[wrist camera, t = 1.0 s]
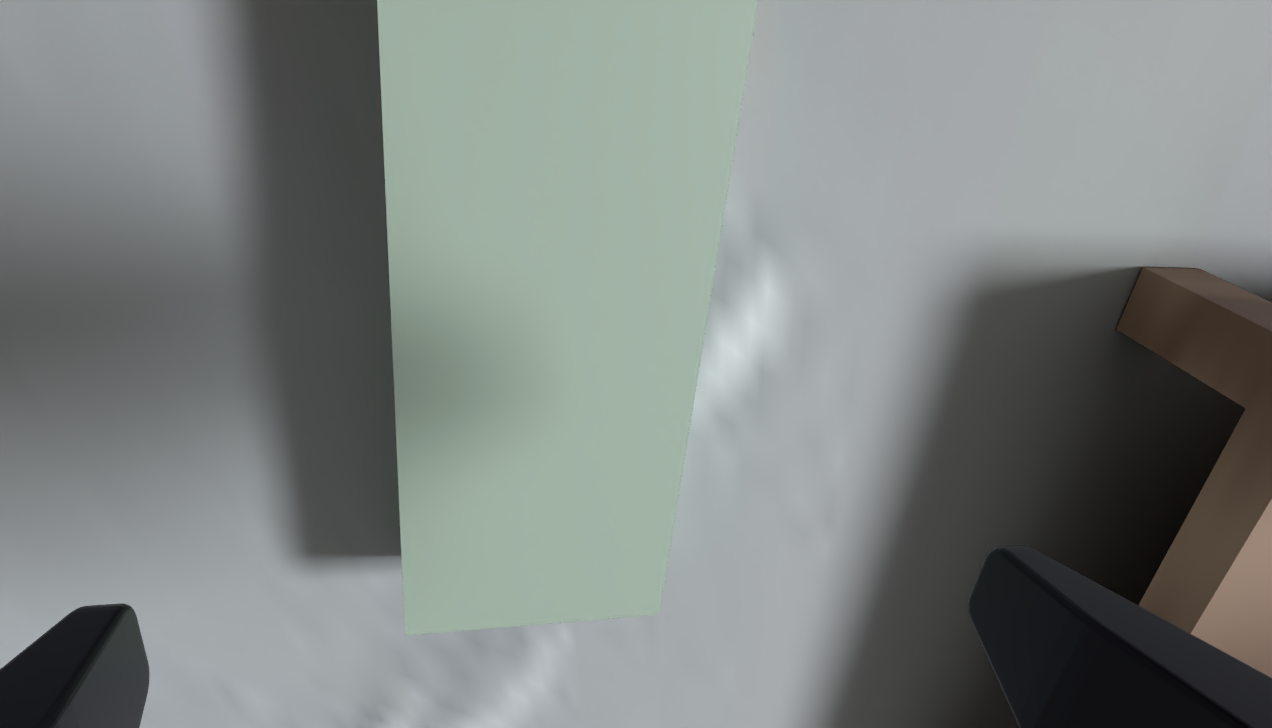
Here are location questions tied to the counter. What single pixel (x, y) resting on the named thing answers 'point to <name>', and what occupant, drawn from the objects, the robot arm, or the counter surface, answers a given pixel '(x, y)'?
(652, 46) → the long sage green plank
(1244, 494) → the bench
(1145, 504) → the counter surface
